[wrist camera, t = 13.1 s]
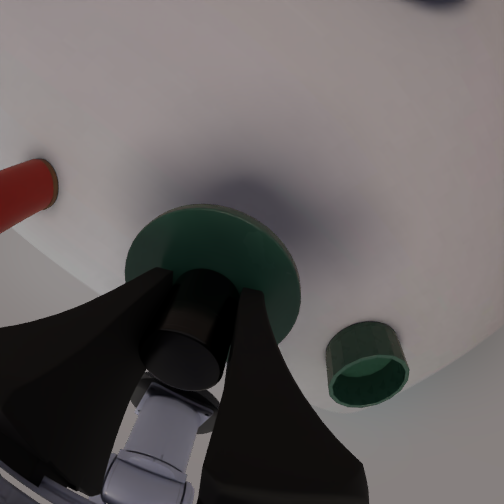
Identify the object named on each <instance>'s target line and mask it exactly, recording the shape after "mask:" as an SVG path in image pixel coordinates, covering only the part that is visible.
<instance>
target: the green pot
mask: <svg viewBox="0 0 504 504" xmlns="http://www.w3.org/2000/svg"><path fill="white" fill-rule="evenodd" d="M326 365H327V377H328V388H329V395H330V397H331V398H332V399H333V400H334V401H335V402H336V403H338V404H341V405H344V406H346V407H358V408H363V407H368V406H373V405H377V404H379V403H382V402H384V401H386V400H388V399H390V398H392V397H393V396H394V395H395V394H397V393H398V392H399V391H401V389H402V388H403V387H404V385H405V384H406V382H407V381H408V376H409V367H408V364H407V361H406V358H405V356H404V353H403V350H402V347H401V345H400V342H399V340H398V338H397V336H396V333H395V332H394V331H393V330H392V329H391V328H390V327H389V326H387V325H385V324H382V323H378V322H363V323H358V324H355V325H352V326H349V327H347V328H345V329H344V330H342V331H341V332H339V333H338V334H337V335H336V336H335V337H334V338H333V339H332V340H331V341H330V343H329V345H328V347H327V350H326Z"/></svg>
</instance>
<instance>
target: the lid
mask: <svg viewBox="0 0 504 504" xmlns="http://www.w3.org/2000/svg"><path fill="white" fill-rule="evenodd" d="M155 267H159V268H163V269H167V270H171V271H173V283H172V288H171V290H170V291H169V293H168V295H167V296H166V298H165V299H164V301H163V303H162V304H161V306H160V307H159V309H158V311H157V312H156V314H155V315H154V317H153V319H152V320H151V322H150V324H149V325H148V327H147V329H146V330H145V332H144V334H143V335H142V337H141V339H140V341H139V344H138V353H139V357H140V359H141V361H142V363H143V365H144V366H145V367H146V369H147V370H148V371H149V372H150V373H151V374H152V375H153V376H155V377H156V378H157V379H159V380H160V381H162V382H164V383H166V384H168V385H170V386H172V387H175V388H178V389H182V390H188V391H201V390H206V389H209V388H211V387H213V386H214V385H216V384H217V383H218V382H219V381H220V379H221V378H222V375H223V371H224V368H225V364H226V362H228V356H229V351H230V345H231V341H232V337H233V331H234V324H235V319H236V314H237V309H238V304H239V298H240V295H241V292H242V289H243V287H245V288H250V289H254V290H259V291H262V292H263V294H264V299H265V306H266V311H267V315H268V318H269V322H270V325H271V328H272V331H273V334H274V337H275V340H276V342H277V345H278V344H279V343H280V342H281V341H282V340H283V339H284V338H285V337H286V336H287V334H288V333H289V332H290V331H291V329H292V327H293V325H294V324H295V322H296V319H297V316H298V314H299V309H300V303H301V286H300V279H299V274H298V271H297V267H296V265H295V262H294V260H293V258H292V256H291V254H290V253H289V251H288V250H287V248H286V246H285V245H284V244H283V243H282V241H281V240H280V239H279V238H278V237H277V236H276V235H275V234H274V233H273V232H272V231H271V230H270V229H269V228H268V227H266V226H265V225H264V224H262V223H261V222H259V221H258V220H256V219H255V218H253V217H251V216H249V215H247V214H245V213H243V212H240V211H237V210H235V209H232V208H228V207H224V206H219V205H211V204H192V205H186V206H181V207H177V208H174V209H172V210H169V211H167V212H165V213H163V214H161V215H159V216H158V217H156V218H155V219H154V220H152V221H151V222H150V223H149V224H148V225H146V226H145V227H144V228H143V229H142V230H141V231H140V233H139V234H138V235H137V236H136V238H135V239H134V241H133V243H132V245H131V247H130V249H129V252H128V255H127V259H126V265H125V281H126V283H127V282H129V281H131V280H133V279H134V278H136V277H138V276H140V275H142V274H143V273H145V272H147V271H149V270H151V269H153V268H155Z"/></svg>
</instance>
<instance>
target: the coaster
mask: <svg viewBox="0 0 504 504" xmlns="http://www.w3.org/2000/svg"><path fill="white" fill-rule="evenodd" d="M38 160H40V161H42V162H43V163H44V164H45V165H46V166H47V167H48V169H49V171H50V173H51V176H52V179H53V188H54V190H53V197H52V200H51V202H50V204H49V205H48V206H47V207H46V208H44V209H43V210H45V209H47V208H49V207H51V206H52V205H53V204H54V202H55V200H56V198H57V194H58V181H57V177H56V174H55V171H54V169H53V168H52V166H51V165H50V164H49V163H48V162H47V161H45V160H43V159H38Z"/></svg>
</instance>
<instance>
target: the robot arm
mask: <svg viewBox="0 0 504 504" xmlns="http://www.w3.org/2000/svg"><path fill="white" fill-rule="evenodd" d="M172 283H173V271H171V270H167V269H163V268H159V267H155V268H153V269H151V270H149V271H147V272H145V273H143V274H142V275H140V276H138V277H136V278H134V279H133V280H131V281H129V282H127V283H125V284H123V285H121V286H119V287H118V288H116V289H114V290H112V291H110V292H108V293H106V294H104V295H102V296H100V297H97V298H95V299H94V300H91V301H89V302H87V303H85V304H83V305H80V306H78V307H75V308H73V309H70V310H67V311H65V312H62V313H59V314H56V315H53V316H49V317H46V318H43V319H39V320H36V321H32V322H28V323H23V324H19V325H14V326H8V327H2V328H0V467H1V468H2V469H3V470H5V471H6V472H7V473H9V474H10V475H11V476H13V477H14V478H15V479H17V480H18V481H19V482H21V483H22V484H24V485H25V486H26V487H28V488H30V489H31V490H32V491H34V492H35V493H37V494H38V495H40V496H42V497H43V498H45V499H46V500H48V501H50V502H51V503H53V504H106V503H108V504H192V503H193V498H194V488H193V487H192V485H191V483H190V482H185V481H186V477H187V474H185V472H186V468H187V465H188V461H189V458H190V455H191V451H192V447H193V444H194V441H195V437H196V434H197V430H198V427H199V426H201V425H202V424H203V423H204V422H205V421H206V420H207V419H209V418H210V417H211V416H212V415H213V410H211V409H209V408H207V407H205V406H202V405H200V404H198V403H196V402H194V401H192V400H189V399H187V398H185V397H183V396H181V395H179V394H177V393H175V392H173V391H171V390H169V389H167V388H165V387H163V386H161V385H159V384H158V383H155V382H152V383H151V384H150V386H149V388H148V389H147V391H146V393H145V394H144V396H143V398H142V399H141V401H140V403H139V405H138V406H137V408H136V410H135V413H136V414H137V415H138V418H137V420H136V423H135V424H134V426H133V429H132V431H131V433H130V436H129V438H128V440H127V442H126V445H125V447H124V449H120V451H119V453H118V455H117V454H115V453H111V451H112V448H113V445H114V442H115V439H116V436H117V433H118V430H119V427H120V425H121V422H122V419H123V416H124V414H125V411H126V409H127V406H128V404H129V401H130V399H131V397H132V395H133V393H134V391H135V388H136V387H137V385H138V383H139V381H140V379H141V378H142V376H143V374H144V372H145V371H146V367H145V366H144V365H143V363H142V361H141V359H140V357H139V353H138V344H139V341H140V339H141V337H142V335H143V334H144V332H145V330H146V329H147V327H148V325H149V324H150V322H151V320H152V319H153V317H154V315H155V314H156V312H157V311H158V309H159V307H160V306H161V304H162V303H163V301H164V299H165V298H166V296H167V295H168V293H169V291H170V290H171V288H172ZM67 487H69V488H71V489H73V490H75V491H80V492H82V493H84V494H86V495H88V496H89V499H86V498H84V497H82V496H80V495H78V494H76V493H74V492H73V491H71V490H69V489H67ZM0 504H40V503H38V502H36V501H35V500H34V499H32V498H31V497H29V496H28V495H26V494H25V493H23V492H22V491H21V490H19V489H18V488H16V487H15V486H14V485H12V484H11V483H10V482H8V481H7V480H6V479H4V478H3V477H2V476H1V474H0ZM197 504H369V495H368V486H367V480H366V476H365V472H364V467H363V464H362V463H361V462H360V461H359V460H358V459H357V458H356V457H355V456H354V455H353V454H352V453H351V452H350V451H349V450H348V449H346V448H345V446H344V445H343V444H341V443H340V441H339V440H338V439H337V438H336V437H335V436H334V435H333V434H332V432H331V431H330V430H329V429H328V428H327V427H326V425H325V424H324V423H323V422H322V420H321V419H320V418H319V416H318V415H317V413H316V412H315V411H314V409H313V408H312V407H311V405H310V404H309V402H308V401H307V400H306V398H305V397H304V395H303V394H302V392H301V390H300V389H299V387H298V385H297V384H296V382H295V380H294V378H293V377H292V375H291V373H290V371H289V369H288V367H287V365H286V363H285V361H284V359H283V357H282V354H281V352H280V350H279V347H278V345H277V342H276V340H275V337H274V334H273V331H272V328H271V325H270V322H269V318H268V315H267V311H266V306H265V299H264V294H263V292H262V291H259V290H254V289H250V288H245V287H243V289H242V292H241V295H240V298H239V304H238V309H237V314H236V319H235V324H234V331H233V337H232V341H231V345H230V351H229V356H228V362H227V369H226V377H225V384H224V391H223V394H222V398H221V402H220V406H219V409H218V413H217V417H216V420H215V424H214V428H213V431H212V435H211V439H210V442H209V446H208V449H207V453H206V457H205V460H204V463H203V467H202V474H201V482H200V489H199V496H198V500H197Z"/></svg>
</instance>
